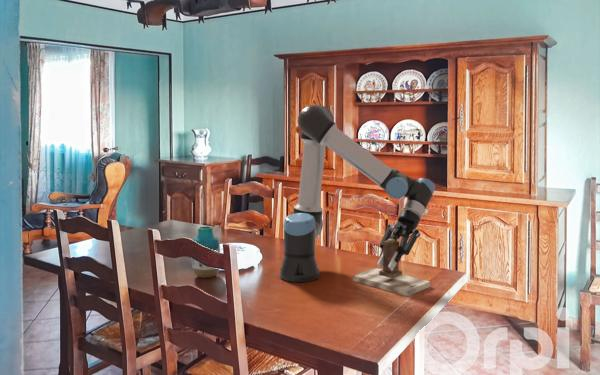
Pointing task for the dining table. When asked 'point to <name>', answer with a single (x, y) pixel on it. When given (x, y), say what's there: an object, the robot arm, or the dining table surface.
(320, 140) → the robot arm
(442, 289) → the dining table surface
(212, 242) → the vase
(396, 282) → the board
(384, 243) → the brown pillar
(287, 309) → the dining table surface
